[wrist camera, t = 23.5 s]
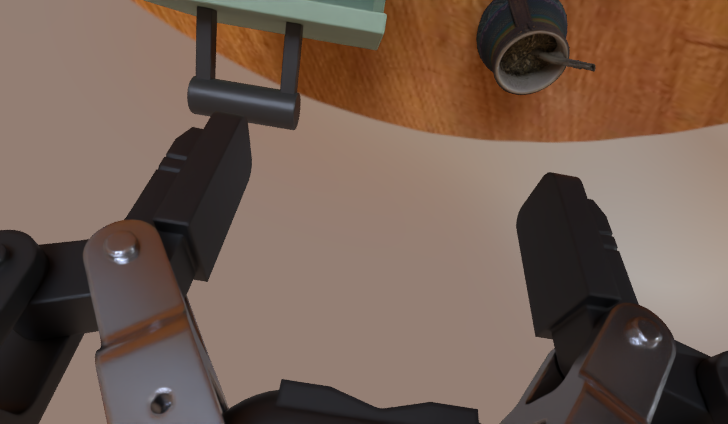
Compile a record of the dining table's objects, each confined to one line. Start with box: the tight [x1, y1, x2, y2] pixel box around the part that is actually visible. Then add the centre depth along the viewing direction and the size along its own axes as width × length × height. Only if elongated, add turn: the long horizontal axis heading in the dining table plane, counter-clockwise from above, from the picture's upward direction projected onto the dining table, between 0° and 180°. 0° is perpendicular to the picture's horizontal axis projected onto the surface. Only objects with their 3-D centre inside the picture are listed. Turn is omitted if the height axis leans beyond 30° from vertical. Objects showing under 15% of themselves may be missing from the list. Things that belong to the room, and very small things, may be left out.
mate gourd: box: [476, 0, 595, 95], centre depth 32 cm, size 7×8×10 cm
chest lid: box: [145, 0, 387, 130], centre depth 23 cm, size 14×12×6 cm
